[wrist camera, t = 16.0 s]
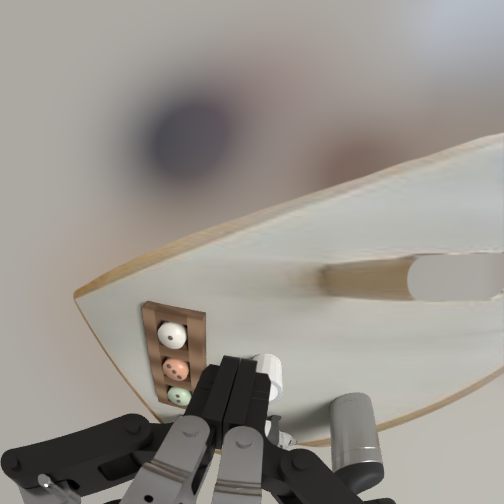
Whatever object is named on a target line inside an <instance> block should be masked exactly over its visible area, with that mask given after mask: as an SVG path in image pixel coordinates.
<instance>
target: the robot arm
mask: <svg viewBox="0 0 504 504" xmlns="http://www.w3.org/2000/svg"><path fill="white" fill-rule="evenodd" d="M257 363H258V361H256V360H250V359H244V358H241V361H240V358H237V357H231V356H226V355H224V356H223V359H222V361H221V364H220V366H218V365H213V364H210V365H209V366H208V367H206V368H205V369H204V370H203V371H202V373H201V376H200V378H199V381H198V383H197V385H196V388H195V390H194V392H193V394H192V397H191V399H190V402H189V404H188V406H187V409H186V411H185V413H184V415H183V416H182V417H180V418H178V419H177V420H176V421H175V422H172V423H168V424H158V423H149V421H148V420H147V419H146V418H145V417H143V416H142V415H139V414H126V415H123V416H121V417H118V418H115V419H113V420H110V421H107V422H105V423H102V424H99V425H96V426H93V427H90V428H88V429H84V430H81V431H78V432H75V433H72V434H68V435H65V436H62V437H58V438H55V439H52V440H48V441H44V442H40V443H36V444H32V445H28V446H24V447H19V448H15V449H10V450H7V451H6V452H4V454H3V455H2V457H1V467H2V470H3V471H4V473H5V474H6V475H7V476H8V477H10V478H11V479H12V480H13V481H14V482H15V483H16V484H17V485H18V487H19V490H20V492H21V495H22V498H23V501H24V503H25V504H81V497H83V496H86V495H90V494H93V493H96V492H99V491H102V490H105V489H108V488H111V487H113V486H116V485H119V484H122V483H124V482H127V481H129V480H132V479H134V480H133V482H132V483H131V485H130V486H129V488H128V490H127V492H126V493H125V495H124V497H123V498H122V499H118V500H113V501H110V502H107V503H104V504H196V500H197V496H198V494H199V491H200V489H201V486H202V484H203V482H204V480H205V477H206V475H207V472H208V470H209V467H210V465H211V461H212V458H213V455H214V451H215V449H220V450H221V449H222V454H221V460H220V465H219V471H218V477H217V482H216V484H215V488H214V492H213V498H212V503H211V504H261V499H262V490H261V489H264V490H266V491H269V492H271V494H272V496H273V497H274V498H275V499H276V501H277V502H278V503H279V504H396V503H395V501H394V500H392V499H390V498H382V499H376V500H370V501H362V500H361V499H360V498H359V497H358V496H357V494H359V493H361V492H363V491H365V490H367V489H370V488H372V487H373V486H375V485H377V484H378V483H379V482H381V481H382V479H383V478H384V468H383V462H382V456H381V450H380V444H379V439H378V433H377V428H376V423H375V418H374V412H373V408H372V403H371V399H370V397H369V396H368V395H366V394H363V393H349V394H345V395H342V396H340V397H338V398H337V399H335V400H334V401H333V402H332V403H331V405H330V407H329V413H330V432H331V453H332V454H331V455H332V471H331V470H330V469H329V468H328V467H327V466H326V465H325V464H324V463H323V462H322V460H321V459H320V458H319V457H318V456H317V455H316V454H315V453H313V452H312V451H309V450H307V449H293V450H290V451H288V450H285V449H283V448H280V447H278V446H276V445H274V444H272V443H271V442H270V441H269V440H268V438H267V437H266V434H265V424H266V418H267V411H268V404H269V397H270V389H271V381H270V378H269V376H268V374H266V373H259V372H256V370H257ZM222 445H223V448H222Z"/></svg>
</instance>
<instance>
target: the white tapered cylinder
mask: <svg viewBox="0 0 504 504" xmlns="http://www.w3.org/2000/svg"><path fill="white" fill-rule="evenodd" d="M252 360H256V361H258V363H257V370H256V372H259V373H266V374H268V376H269V378H270V381H271V389H270V397H269V404H270V403H273V402H276V401H277V400H278V399H280V398H281V396H282V393H283V390H282V367H281V362H280V360H279V359H278V358H277V357H275V356H273V355H271V354H259V355H257V356H255V357H254V358H253V359H252Z"/></svg>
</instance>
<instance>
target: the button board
mask: <svg viewBox="0 0 504 504" xmlns="http://www.w3.org/2000/svg"><path fill="white" fill-rule="evenodd" d="M142 314H143V321H144V328H145V335H146V341H147V347H148V353H149V358H150V363H151V369H152V374H153V378H154V383H155V388H156V392H157V396H158V401H159V402H161V403H164V404H168V405H171V406H175V407H178V408H182V409H187V406H188V405H186V406H181V405H177V404H175V403H173V402H172V401H171V400H170V399H169V398H168V396H167V394H168V391H169V390H170V388H171V386H174V387H178V388H182V389H186V390H190V391H192V394H193V392H194V390H195V388H196V385H197V383H198V381H199V378H200V376H201V373H202V371H203V370H204V369H205V368H206V313H205V312H199V311H194V310H189V309H183V308H178V307H173V306H168V305H164V304H159V303H154V302H150V301H148V302H147V303H146V304H145V305H144V306H143V307H142ZM162 320H165V321H170V322H174V323H179V324H184V325H187V330H188V343H187V342H185V343H184V344H183V346H182V347H181V348H179V349H171V348H169V347H167V346H165V345H164V344H163V343H162V342H161V341H160V340H159V338H158V330H159V328H160V327H161V326H162ZM166 356H167V357H171V358H175V359H179V360H183V361H188V362H190V374H189V373H188V375H187V377H186V379H184V380H182V381H177V380H174V379H171V378H170V377H168V376H167V375H166V374H165V373H164V371H163V364H164V363H165V361H166ZM170 385H171V386H170Z"/></svg>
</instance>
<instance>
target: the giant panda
mask: <svg viewBox="0 0 504 504" xmlns="http://www.w3.org/2000/svg"><path fill="white" fill-rule="evenodd" d="M280 419H281V416H277V415H273V416H272V417H271V421H268V420H266V424H265V434H266V437H267V438H268V440H269V441H270V442H271V443H272V444H274V445H276V446H278V447H280V448H283V449H287V448H288V446H291V445H295V444H297V441H296V439H294V438H292V436H291V435H289V434H287V433H284V432H281V431H279V427H278V421H279V420H280Z"/></svg>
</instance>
